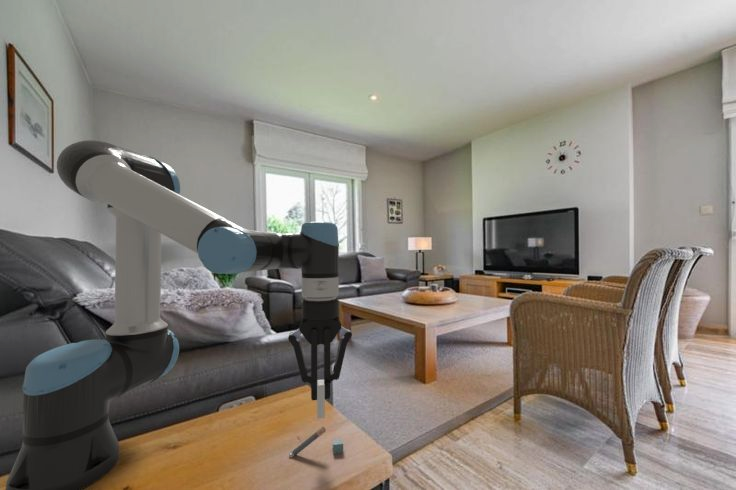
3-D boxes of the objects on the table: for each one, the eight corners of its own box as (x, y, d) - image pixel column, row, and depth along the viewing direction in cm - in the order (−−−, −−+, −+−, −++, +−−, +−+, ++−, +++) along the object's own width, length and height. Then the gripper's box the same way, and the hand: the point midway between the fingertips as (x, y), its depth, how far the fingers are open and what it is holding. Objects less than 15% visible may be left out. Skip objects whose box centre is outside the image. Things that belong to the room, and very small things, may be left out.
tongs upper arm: (290, 460, 60) (288, 457, 60) (290, 456, 61) (288, 453, 61) (325, 431, 62) (323, 429, 61) (325, 428, 63) (323, 426, 63)
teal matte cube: (333, 460, 61) (333, 444, 61) (332, 454, 63) (332, 439, 63) (343, 459, 62) (343, 443, 62) (342, 453, 63) (342, 438, 64)
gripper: (285, 301, 58) (286, 428, 57) (354, 299, 60) (355, 421, 59) (288, 296, 65) (289, 408, 64) (349, 294, 67) (350, 402, 67)
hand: (320, 414), depth 62 cm, fingers closed
